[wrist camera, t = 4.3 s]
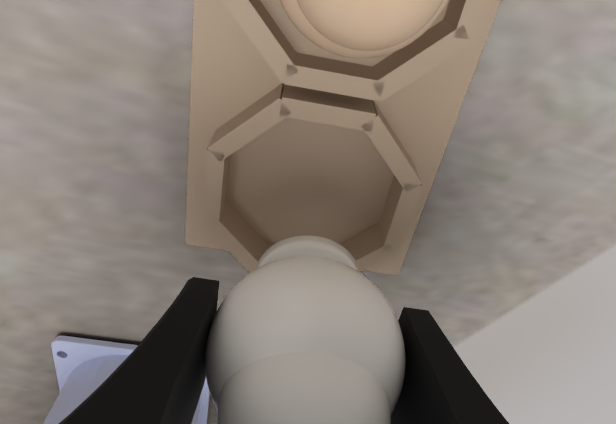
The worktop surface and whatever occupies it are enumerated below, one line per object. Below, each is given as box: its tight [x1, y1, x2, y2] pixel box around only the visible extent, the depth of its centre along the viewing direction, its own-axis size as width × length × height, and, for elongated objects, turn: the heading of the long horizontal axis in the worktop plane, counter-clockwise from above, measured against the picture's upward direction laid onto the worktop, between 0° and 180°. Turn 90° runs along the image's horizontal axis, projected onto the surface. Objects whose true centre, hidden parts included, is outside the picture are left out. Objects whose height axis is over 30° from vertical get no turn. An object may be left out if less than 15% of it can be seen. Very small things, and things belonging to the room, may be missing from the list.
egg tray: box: [185, 0, 501, 276], centre depth 15 cm, size 15×9×2 cm, turn 170°
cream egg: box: [205, 235, 406, 424], centre depth 10 cm, size 4×4×6 cm
